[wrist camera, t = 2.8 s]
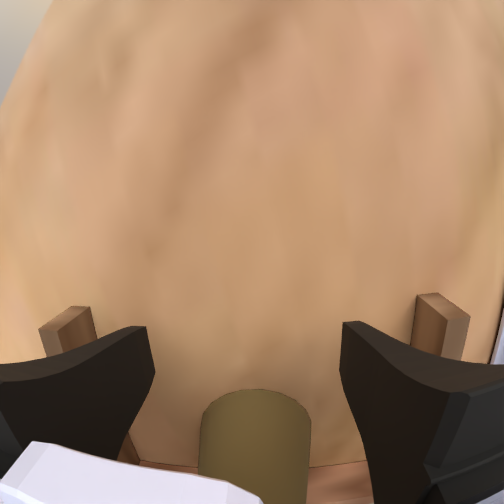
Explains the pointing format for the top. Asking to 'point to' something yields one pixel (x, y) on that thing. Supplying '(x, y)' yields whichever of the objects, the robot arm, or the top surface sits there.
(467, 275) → the top surface
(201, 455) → the olive brown pear shape
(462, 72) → the top surface
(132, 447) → the offcut rack
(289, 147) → the top surface
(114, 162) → the top surface
